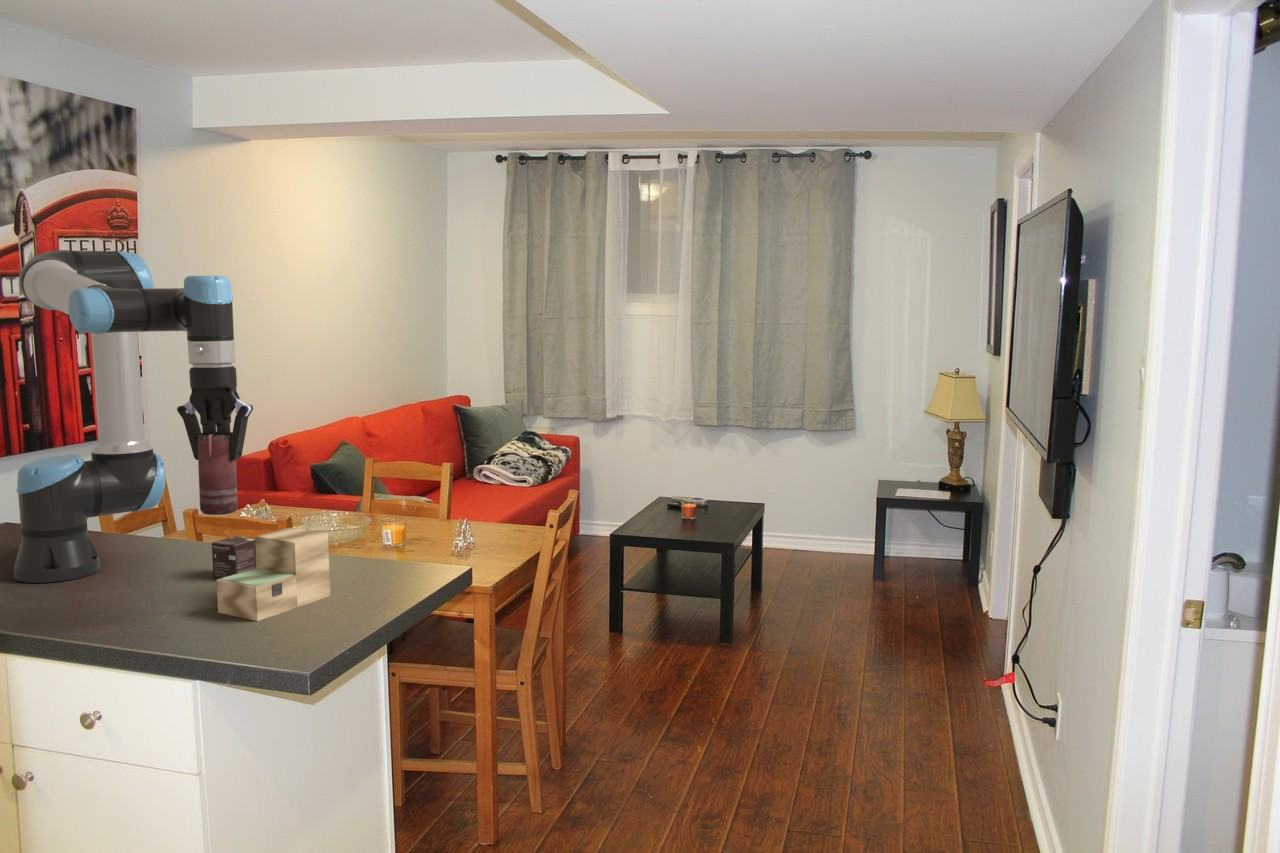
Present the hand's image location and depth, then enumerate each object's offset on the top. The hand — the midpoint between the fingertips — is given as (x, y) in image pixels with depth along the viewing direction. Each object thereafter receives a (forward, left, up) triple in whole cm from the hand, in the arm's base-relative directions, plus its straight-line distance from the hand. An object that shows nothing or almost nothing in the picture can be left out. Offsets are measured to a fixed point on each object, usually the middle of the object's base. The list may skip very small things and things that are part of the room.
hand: (220, 499), depth 181 cm
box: (-18, +17, -21) cm, 32 cm away
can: (0, 0, -2) cm, 2 cm away
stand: (+4, +8, -20) cm, 22 cm away
